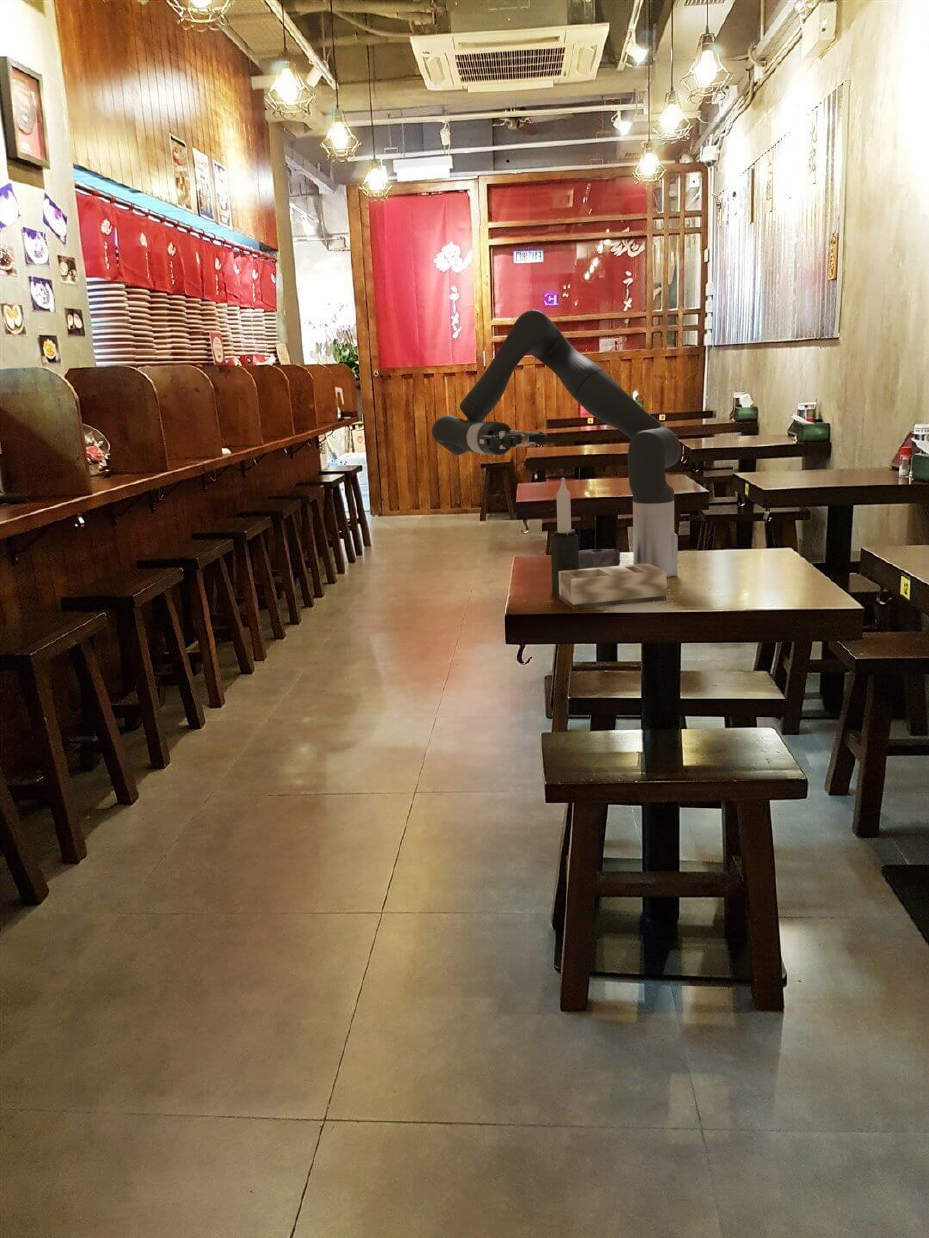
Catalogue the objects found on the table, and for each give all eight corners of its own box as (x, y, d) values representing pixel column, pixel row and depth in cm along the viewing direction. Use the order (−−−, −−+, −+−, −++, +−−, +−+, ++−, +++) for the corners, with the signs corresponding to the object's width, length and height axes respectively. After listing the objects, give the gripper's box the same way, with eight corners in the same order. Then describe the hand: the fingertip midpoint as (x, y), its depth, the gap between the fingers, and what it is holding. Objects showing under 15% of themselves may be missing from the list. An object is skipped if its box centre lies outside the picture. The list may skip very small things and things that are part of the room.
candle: (559, 596, 207) (556, 479, 201) (550, 591, 212) (547, 477, 206) (581, 593, 209) (578, 477, 202) (572, 589, 213) (569, 475, 207)
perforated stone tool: (553, 581, 223) (552, 551, 221) (557, 576, 228) (556, 547, 226) (618, 581, 219) (618, 551, 217) (621, 576, 224) (621, 547, 222)
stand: (648, 590, 209) (648, 563, 207) (666, 600, 199) (666, 571, 198) (559, 598, 205) (558, 571, 204) (573, 609, 195) (573, 580, 194)
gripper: (463, 423, 220) (503, 425, 207) (514, 419, 227) (556, 421, 214) (464, 456, 222) (504, 461, 209) (514, 452, 229) (556, 455, 216)
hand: (530, 441), depth 211 cm, fingers open, 8 cm apart
